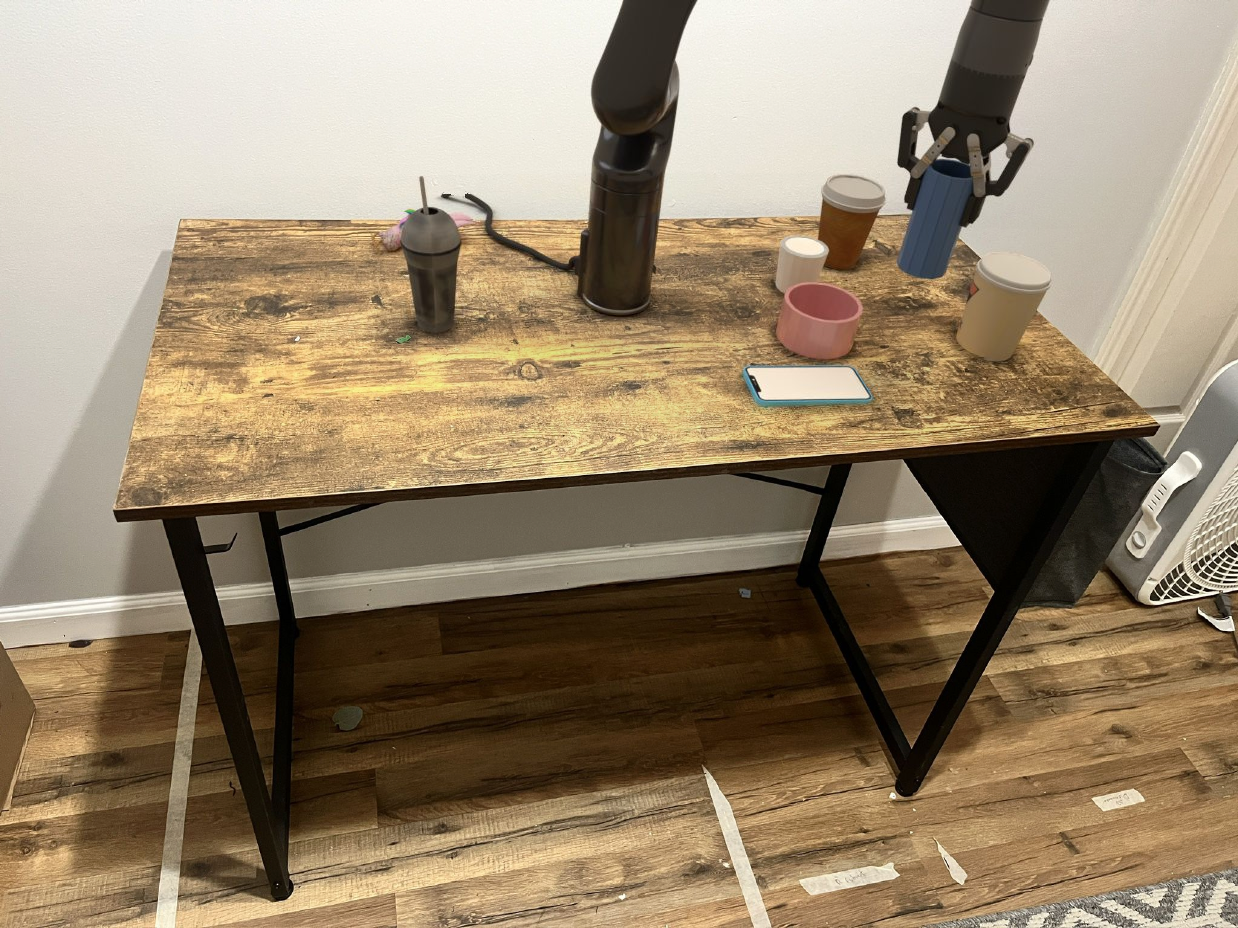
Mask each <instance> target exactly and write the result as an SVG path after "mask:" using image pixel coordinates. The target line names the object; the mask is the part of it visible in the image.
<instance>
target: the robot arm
mask: <svg viewBox="0 0 1238 928" xmlns="http://www.w3.org/2000/svg"><path fill="white" fill-rule="evenodd" d="M1050 1H1051V0H971V1H970V5H969V7H968V10H967V13H966V15H965V16H964V17H965V18H964V19H963V22H962V24H961V26H960V29H959V31H958V34H957V38H956V40H955V45H954V47H953V51H952V55H951V58H950V61H949V64H948V67H947V70H946V73H945V77H944V81H943V84H942V87H941V91H940V93H939V96H938V100H937V103H936V105H935V107H934V108H933V109H932V110H931V111H929V110H921V109H920V108H919V107H917V106H914V107H911V108H910V109H909V110H907V111H906V112H904V114H902V117H901V125H900V133H899V134H900V136H899V143H898V152H897V159H896V160H897V162H896V164H897V167H899V168H901V169H904V170H906V172H908V174H909V181H908V183H907V186H906V190H905V194H904V198H903V202H904V204H907V205H906V210H909V211H911V212H912V211H913V208H914V204H915V201H916V198H917V195H918V192H919V188H920V185H921V182H922V179H923V175H924V172H925V170H926V169H927V167H928V166H930V165H931V164H932V163H933V162H934V161H935V160H936V159H939V157H941V158H944V159H954V160H957V161H960V162H962V163H966V164H969V165H970V172H971V176H972V178H973V189H974V192H973V193H972V194H971V195H970V197H969V200H968V203H967V206H966V208H965V211H964V214H963V217H962V220H961V223H960V226H962V228H968V226H969V225H973V224H974V223H975V222H976V221H977V219H978V218H979V217H980V215H981V213H982V210H983V207H984V205H985V202H986V198H987V197H989V196H994V197H997V198H999V197H1001V196H1003V195H1004V193H1005V192H1006V191H1007V190H1008V189H1009V188H1010V186H1011V185H1012V183H1013V181H1014V180H1015V178H1016V176H1017V174H1018V172H1019V171H1020V169H1021V168H1022V166H1023V164H1024V163H1025V161H1026V159H1027V157H1028V156H1029V154H1030V152H1031V151H1032V149H1033V148H1034V144H1035V141H1034V140H1033V138H1031V137H1026V138H1022V137H1021V136H1018V135H1016V134H1014V133H1012V132H1011V126H1010V121H1011V117H1012V114H1013V111H1014V109H1015V106H1016V103H1017V100H1018V99H1019V95H1020V92H1021V89H1022V86H1023V84H1024V81H1025V78H1026V75H1027V73H1028V70H1029V67H1030V66H1031V65H1032V63H1033V60H1034V55H1035V54H1034V53H1035V50H1036V48H1037V44H1038V41H1039V37H1040V32H1041V28H1042V24H1043V21H1044V17H1045V16H1046V12H1047V10H1048V6H1049V4H1050ZM697 3H698V0H622V2H621V5H620V8H619V11H618V13H617V17H616V20H615V22H614V24H613V28H611V32H610V34H609V37H608V40H607V42H606V45H605V47H604V49H603V52H602V54H601V57H600V59H599V62H598V63H597V66H596V68H595V70H594V73H593V76H592V79H591V85H590V100H591V105H592V109H593V112H594V115H595V117H596V119H597V121H598V122H599V123H600V129H599V135H598V138H597V142H596V145H595V148H594V150H593V154H592V158H591V171H590V185H589V187H590V189H589V205H588V218H587V228H585V229H583V230H582V231H581V232H580V240H579V254H578V255H574V256H571V257H570V258H569V259H568V263H564V262H560V261H557V260H554V259H552V258H551V257H549V256H547V255H545V254H543V253H541V251H538V250H536V249H534V248H532V247H530V246H528V245H526V244H523V243H520V242H518V241H516V240H512V239H510V238H508V237H505V236H504V235H501V234H499V233H498V232H497V231H496V230H495V229H494V228H493V227H492V222H493V218H494V211H493V209H492V207H491V206H490V205H489V204H487V202H485V201H483V200H482V199H481V198H480V197H477V196H476V195H474V194H472V193H470V194H468V193H469V192H468V193H467V194H465V198H464V199H466V200H468V201H470V202H472V203H473V204H476V205H477V206H478V207H480V208H481V209H483V210H484V211H485V213H486V217H485V221H484V227H485V231H486V232H487V234H488V235H489V236H490V237H491V238H493V240H496V241H497V242H499V243H501V244H503V245H505V246H508V247H510V248H513V249H516V250H518V251H521V252H523V253H526V254H528V255H530V256H531V257H533V258H535V259H537V260H539V261H541V262H543V263H545V264H547V265H549V266H551V267H555V268H557V269H560V270H563V271H573V269H574V271H573V275H574V276H576V277H577V287H576V288H577V289H576V295H577V297H580V298H581V299H582V300H583V302H584V303H585V304H586V305H587V306H588V307H589V308H590V309H592V310H594V311H596V312H598V313H601V314H605V315H611V316H631V315H635V314H639V313H641V312H643V311H644V310H646V309H647V308H648V307H649V305H650V302H651V291H652V281H653V275H656V273H657V266H656V265H655V259H656V250H657V242H658V234H659V225H660V218H661V209H662V201H663V193H664V183H665V177H666V171H667V170H666V169H667V166H668V162H669V159H670V155H671V151H672V144H673V139H674V131H675V124H676V118H677V110H678V104H679V96H680V84H681V83H680V82H681V79H680V77H681V76H680V70H679V66H678V63H677V61H676V59H677V54H678V52H679V51H678V50H679V48H680V44H681V41H682V38H683V34H684V33H685V32H684V31H685V29H686V26H687V24H688V21H689V19H690V18H691V15H692V13H693V10H694V8H695V6H696V5H697ZM925 124H928V127H929V130H930V133H931V137H932V140H933V143H932V145H930V147H929V148H928V149H927V150H926V151H925V152H924V154H923V155H922V156H921V158H919V157H917V156H916V153H917V146H918V145H917V144H918V137H919V136H918V135H919V132H920V131H921V130H923V129H924V127H925ZM1003 144H1004V145H1005V147H1006V151H1005V156H1006V158H1007V159H1009V160H1008V162H1007V163H1006V165H1005V167H1004V169H1003V170H1002V172H1001V174H1000V175H999V177H998V179H994V180H992V175H991V174H992V172H991V168H992V157H991V153H992V152H993V151H995V150H996V149H998V148H999V147H1001V145H1003ZM449 197H453V195H451V194H443V193H441V195H440V198H443V199H448V198H449Z"/></svg>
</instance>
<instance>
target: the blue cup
mask: <svg viewBox="0 0 1238 928" xmlns="http://www.w3.org/2000/svg"><path fill="white" fill-rule="evenodd" d="M973 192H974V189H973V178H972V176H971V172H970V164H966V163H962V162H960V161H959V160H957V159H951V158H937V159H936V160H935V161H934V162H933V163H932V164H931V165H930V166H928V167H927V169H926V170H925V172H924V175H923V179H922V182H921V185H920V188H919V192H918V195H917V198H916V201H915V204H914V208H913V211H912V210H911V214H910V217H909V220H908V224H907V226H906V230H905V234H904V236H903V240H902V243H901V246H900V248H899V249H900V250H899V252H898V256H897V259H896V265H897V267H898V269H900V271H902V272H904V273H905V274H906V275H909V276H911V277H915V278H917V279H924V280H936V279H941V278H943V277H944V276H945V275H946V273H947V271H948V268H949V265H950V262H951V260H952V257H953V253H954V250H955V248H956V245H957V242H958V239H959V237H960V234H961V231H962V228H963V227H962V226H960V223H961V220H962V217H963V214H964V211H965V208H966V206H967V203H968V200H969V197H970V195H971V194H972V193H973Z"/></svg>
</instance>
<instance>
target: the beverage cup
mask: <svg viewBox="0 0 1238 928" xmlns="http://www.w3.org/2000/svg"><path fill="white" fill-rule="evenodd" d="M418 179H419V186H420V193H421V194H420V195H421V201H422V202H421V203H422V207H419V208H418V209H416V210H414V212H413V213H412V214H411V215H410V216H409V217H408V218H407V219H406V221H405V223H404V226H403V229H402V234H401V241H400V243H401V246H400V247H401V249H402V253H403V256H404V259H405V261H406V266H407V267H406V268H407V273H408V280H409V284H410V290H411V296H412V302H413V308H414V314H415V317H416V321H417V326H418V328H419V329H420V330H421V331H424V332H426V333H431V334H440V333H444V332H448V331H449V330H450V329H452V327H454V317H455V314H456V313H455V311H456V309H455V308H456V295H457V278H458V277H457V276H458V261H459V257H460V252H461V247H462V243H463V240H462V238H461V234H460V230H459V228H457V225H456V223H455V221H454V220H453V218H452V217H451V216H450V215H449V214H450V213H448V212H446V211H444V210H443V209H441V208H438V207H434V206H428V200H427V192H426V191H427V190H426V184H425V178H424V176H423V175H420V176H419V177H418Z"/></svg>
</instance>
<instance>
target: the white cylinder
mask: <svg viewBox="0 0 1238 928" xmlns="http://www.w3.org/2000/svg"><path fill="white" fill-rule="evenodd" d="M828 252H829V249H828V247H827V245H825V244H824V243H823V242H822V241H819V240H818V238H815V237H812V236H808V235H799V234H794V235H787V236H785V237H783V238H782V239H781V241H780V243H779V250H778V258H777V267H776V274H775V275H776V276H775V283H774V284H775V288H776V289H777V290H778V291H780V292H781V293H783V294H785V291H786V290H787V289H788V288H789V287H791V286H793V285H796V284H798V283H804V282H819V279H820V276H821V274H822V271H823V269H824V267H825V266H824V263H825V260H826V257H827V255H828Z"/></svg>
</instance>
